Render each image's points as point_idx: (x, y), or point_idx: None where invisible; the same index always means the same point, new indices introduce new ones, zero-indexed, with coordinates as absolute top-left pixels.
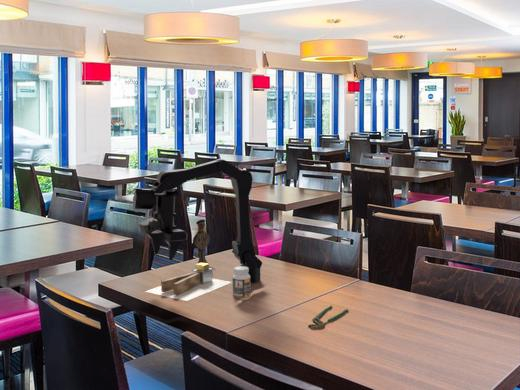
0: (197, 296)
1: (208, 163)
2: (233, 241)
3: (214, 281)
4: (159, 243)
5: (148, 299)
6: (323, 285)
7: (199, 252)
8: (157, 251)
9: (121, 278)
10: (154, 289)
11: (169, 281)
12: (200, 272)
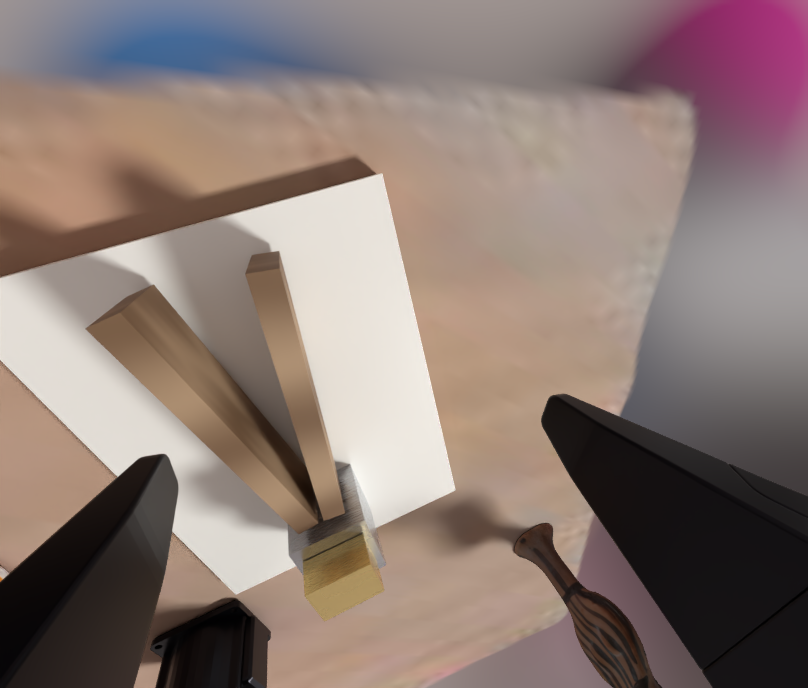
0: (43, 401)
1: None
2: None
3: None
4: (648, 555)
5: (257, 124)
6: None
7: (569, 579)
8: (562, 439)
9: (667, 240)
10: (379, 252)
11: (265, 329)
12: (306, 540)
